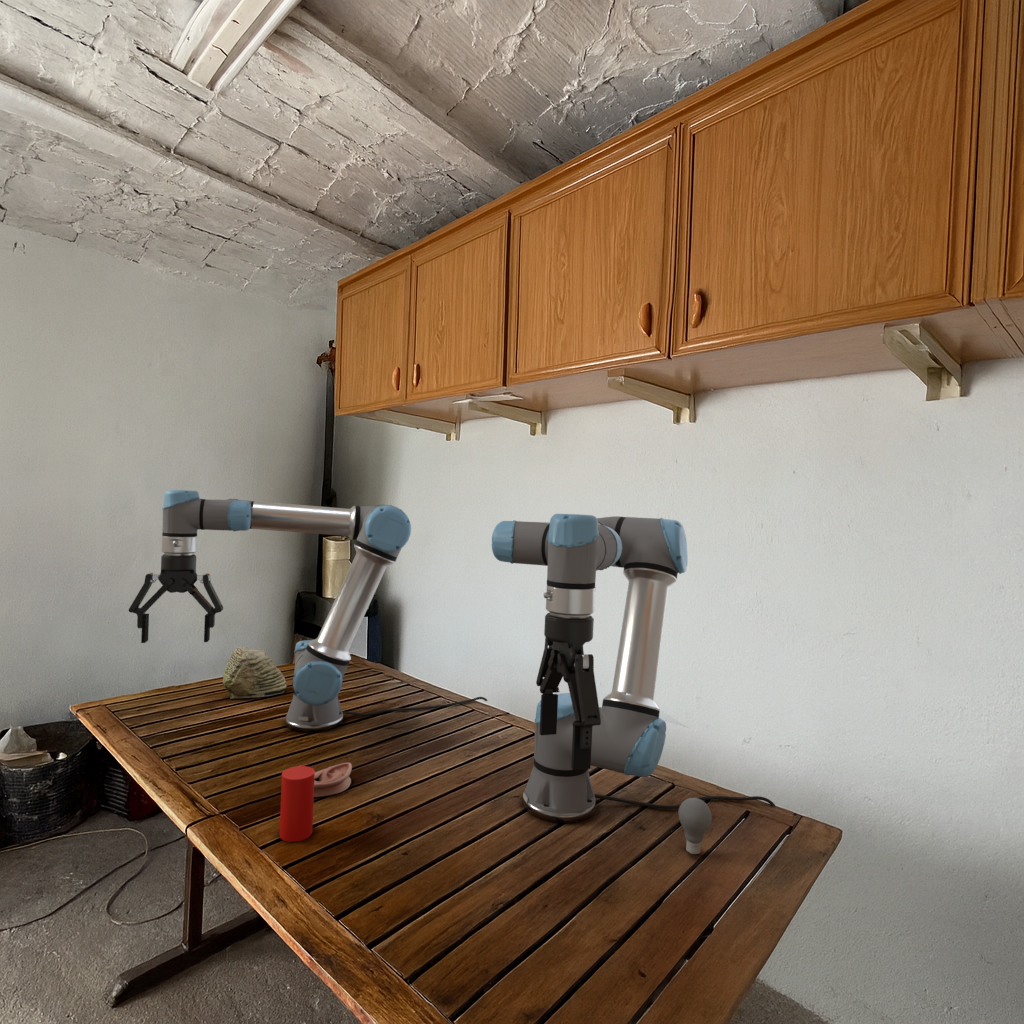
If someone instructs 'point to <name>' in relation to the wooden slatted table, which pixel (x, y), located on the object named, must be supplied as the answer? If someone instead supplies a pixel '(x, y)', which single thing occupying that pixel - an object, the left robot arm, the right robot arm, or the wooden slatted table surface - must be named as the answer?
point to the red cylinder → (297, 803)
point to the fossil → (252, 674)
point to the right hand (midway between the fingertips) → (563, 750)
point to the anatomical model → (332, 780)
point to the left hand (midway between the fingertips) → (176, 641)
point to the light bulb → (694, 822)
